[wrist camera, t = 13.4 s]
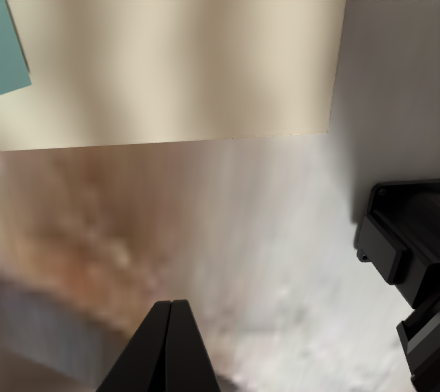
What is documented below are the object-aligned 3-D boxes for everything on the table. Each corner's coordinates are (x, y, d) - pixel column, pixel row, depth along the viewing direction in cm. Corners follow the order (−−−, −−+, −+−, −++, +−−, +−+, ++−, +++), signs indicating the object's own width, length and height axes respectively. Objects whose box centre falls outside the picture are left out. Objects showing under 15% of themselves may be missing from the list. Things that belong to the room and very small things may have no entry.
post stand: (358, -160, 12) (536, -375, 6) (321, 128, 18) (388, 184, 12) (-248, -141, 12) (-819, -356, 5) (-84, 150, 18) (-253, 221, 11)
